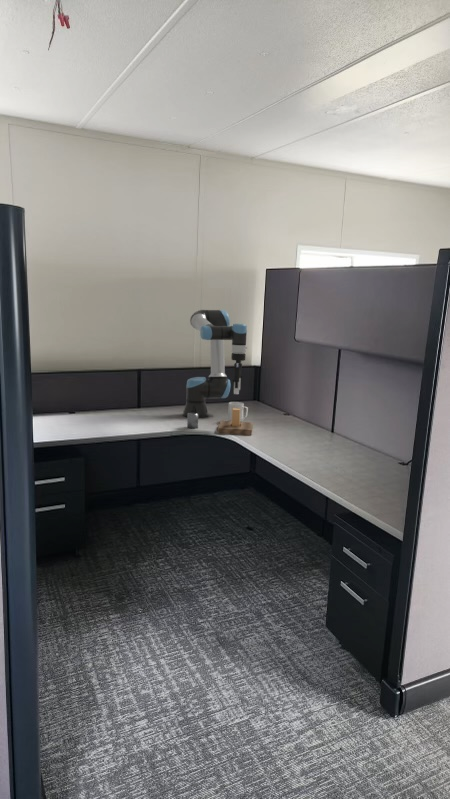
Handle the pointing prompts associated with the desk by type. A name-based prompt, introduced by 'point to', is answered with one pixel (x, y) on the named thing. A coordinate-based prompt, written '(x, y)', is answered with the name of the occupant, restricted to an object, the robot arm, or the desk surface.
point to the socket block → (235, 428)
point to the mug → (239, 406)
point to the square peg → (236, 417)
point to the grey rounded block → (192, 420)
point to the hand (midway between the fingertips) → (237, 391)
